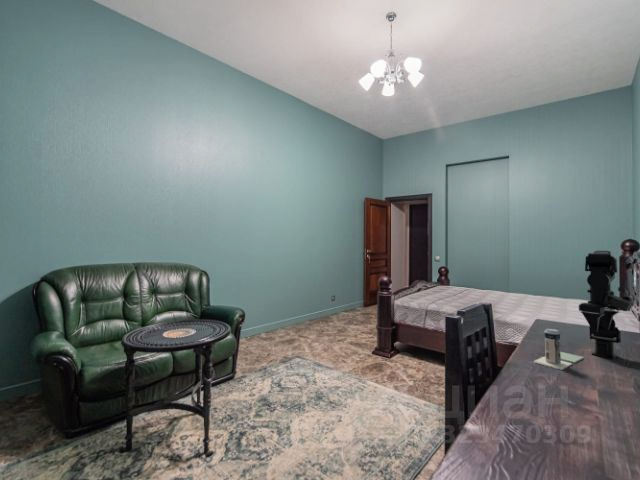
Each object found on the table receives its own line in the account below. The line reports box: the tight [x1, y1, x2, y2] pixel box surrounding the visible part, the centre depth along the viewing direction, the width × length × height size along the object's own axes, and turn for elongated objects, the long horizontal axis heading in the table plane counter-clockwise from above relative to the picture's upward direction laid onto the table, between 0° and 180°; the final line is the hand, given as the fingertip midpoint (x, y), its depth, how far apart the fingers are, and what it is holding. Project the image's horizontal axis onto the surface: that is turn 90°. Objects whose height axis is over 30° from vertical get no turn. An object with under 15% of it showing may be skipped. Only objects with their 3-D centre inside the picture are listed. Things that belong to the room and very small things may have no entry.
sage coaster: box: [560, 351, 585, 364], centre depth 125 cm, size 9×9×1 cm
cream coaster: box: [533, 356, 573, 371], centre depth 118 cm, size 9×9×1 cm
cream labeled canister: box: [544, 328, 562, 364], centre depth 119 cm, size 5×5×12 cm
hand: (600, 330), depth 115 cm, fingers open, 9 cm apart
